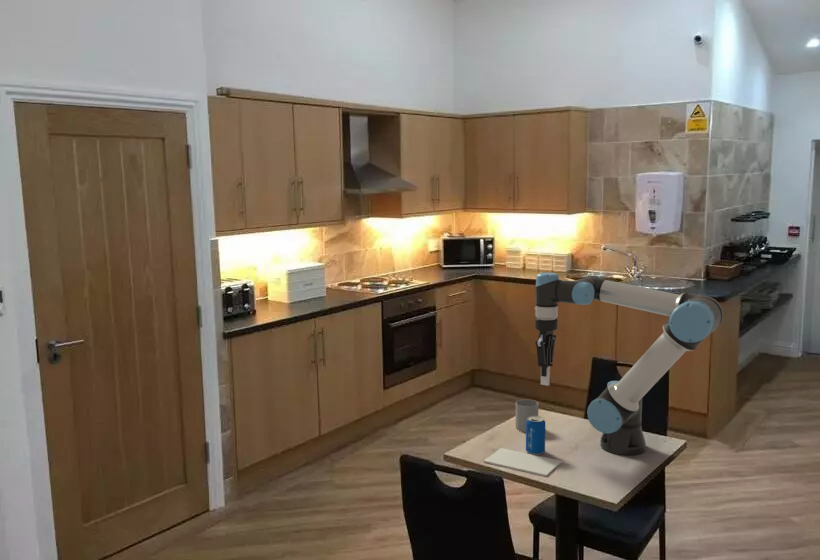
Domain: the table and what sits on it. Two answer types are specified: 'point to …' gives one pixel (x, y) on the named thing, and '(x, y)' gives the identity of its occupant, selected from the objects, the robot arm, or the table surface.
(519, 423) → the cup
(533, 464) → the flat white box
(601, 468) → the table surface
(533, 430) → the beverage can
